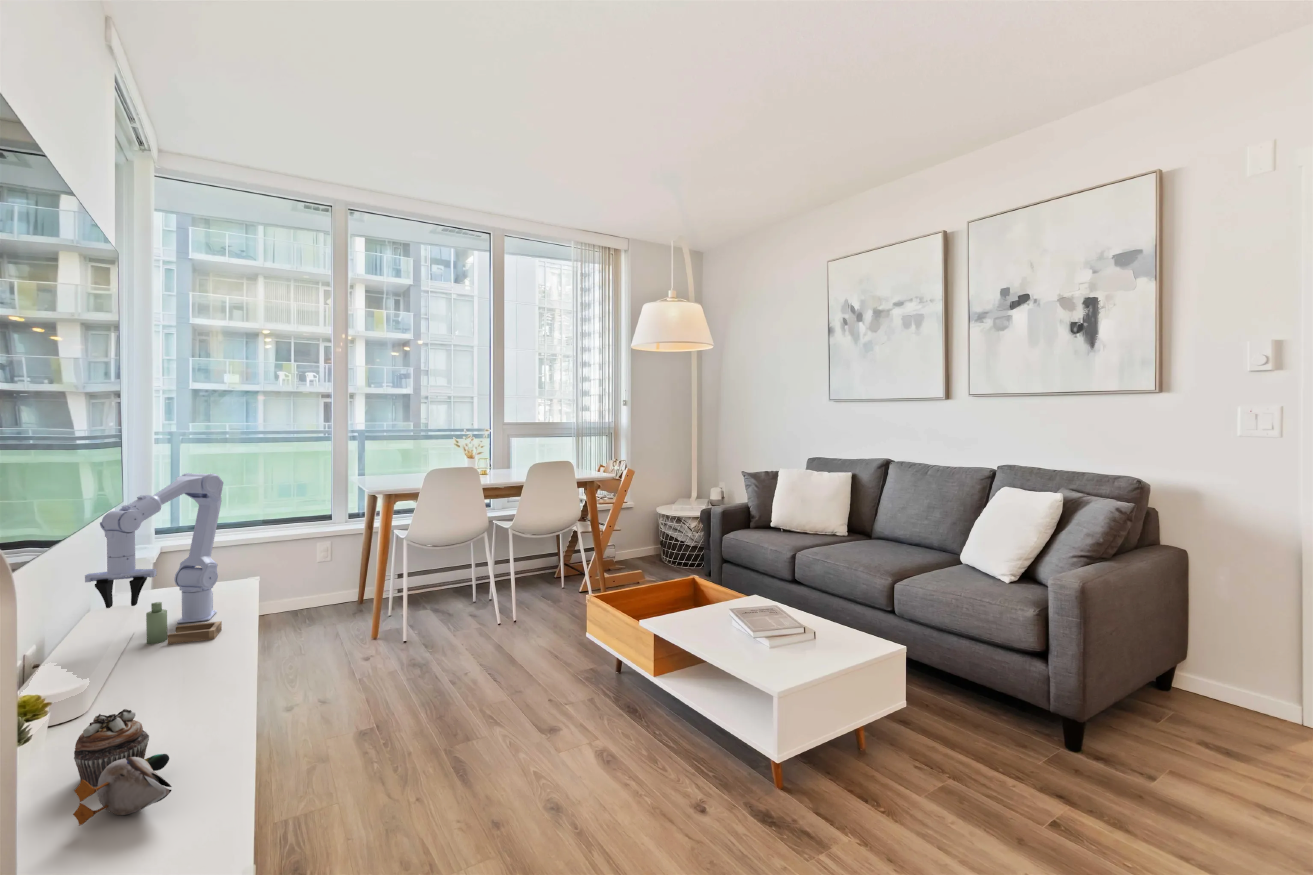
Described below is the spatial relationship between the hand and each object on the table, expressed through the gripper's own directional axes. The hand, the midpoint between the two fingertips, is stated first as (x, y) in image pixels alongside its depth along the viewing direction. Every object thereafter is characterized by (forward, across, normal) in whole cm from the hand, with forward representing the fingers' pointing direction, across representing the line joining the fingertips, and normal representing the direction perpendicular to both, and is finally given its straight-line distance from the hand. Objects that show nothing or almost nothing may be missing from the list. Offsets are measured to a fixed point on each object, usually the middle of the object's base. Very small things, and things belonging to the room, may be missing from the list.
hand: (121, 606), depth 164 cm
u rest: (+10, +16, 0) cm, 19 cm away
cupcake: (+11, +22, -75) cm, 79 cm away
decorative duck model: (+11, +30, -87) cm, 93 cm away
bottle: (+10, +8, 0) cm, 13 cm away
